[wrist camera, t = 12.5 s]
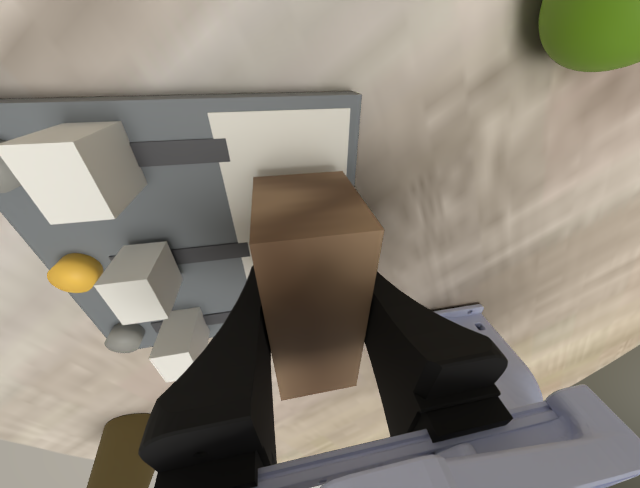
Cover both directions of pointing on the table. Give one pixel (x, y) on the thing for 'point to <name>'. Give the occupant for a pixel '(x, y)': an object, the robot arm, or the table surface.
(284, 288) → the block
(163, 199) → the breaker panel
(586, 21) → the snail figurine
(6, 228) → the table surface
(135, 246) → the block
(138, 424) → the cork
